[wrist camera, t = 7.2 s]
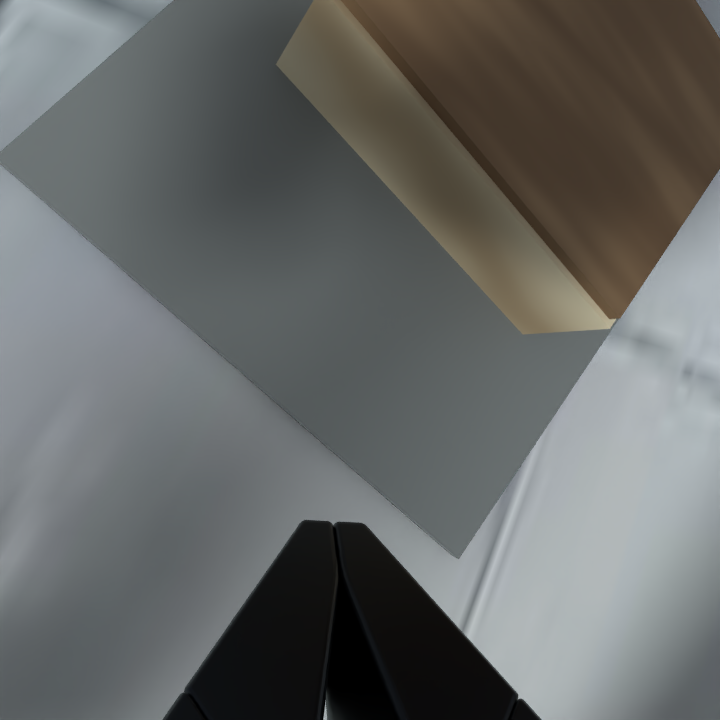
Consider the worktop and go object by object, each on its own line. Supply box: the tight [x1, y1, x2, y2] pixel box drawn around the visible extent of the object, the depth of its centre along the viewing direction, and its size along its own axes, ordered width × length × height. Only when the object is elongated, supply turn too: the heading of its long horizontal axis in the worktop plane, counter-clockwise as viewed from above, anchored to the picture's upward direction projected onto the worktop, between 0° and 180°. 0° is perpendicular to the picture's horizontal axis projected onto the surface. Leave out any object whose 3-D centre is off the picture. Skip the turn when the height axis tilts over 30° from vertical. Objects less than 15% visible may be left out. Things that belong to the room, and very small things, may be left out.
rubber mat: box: [0, 0, 618, 559], centre depth 21 cm, size 21×18×1 cm
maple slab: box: [276, 0, 720, 334], centre depth 19 cm, size 4×12×10 cm
